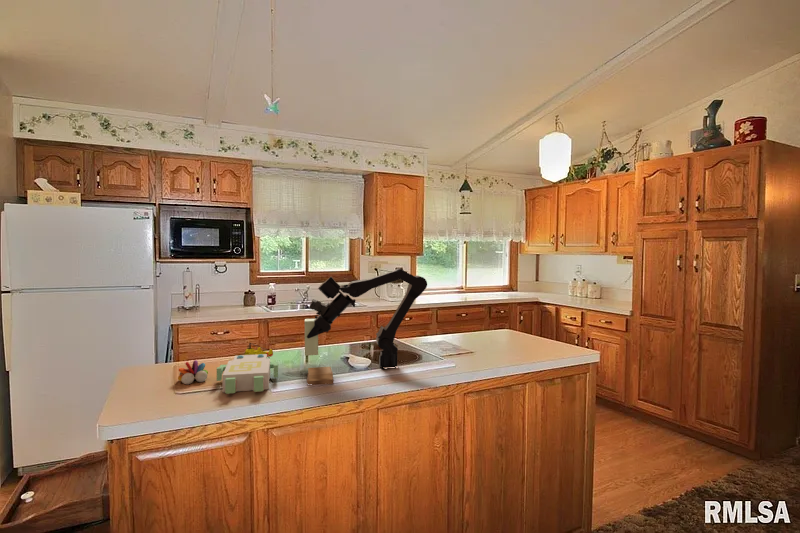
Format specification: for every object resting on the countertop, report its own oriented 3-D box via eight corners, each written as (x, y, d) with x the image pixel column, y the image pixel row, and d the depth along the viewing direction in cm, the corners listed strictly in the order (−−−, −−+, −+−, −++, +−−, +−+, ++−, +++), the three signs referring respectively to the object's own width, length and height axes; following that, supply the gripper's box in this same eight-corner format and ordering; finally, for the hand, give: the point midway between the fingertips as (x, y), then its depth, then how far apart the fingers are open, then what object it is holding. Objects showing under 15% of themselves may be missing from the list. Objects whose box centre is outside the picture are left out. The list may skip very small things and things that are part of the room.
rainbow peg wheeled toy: (176, 380, 153) (175, 360, 153) (205, 375, 159) (205, 356, 159) (180, 387, 147) (179, 365, 146) (210, 381, 152) (210, 361, 152)
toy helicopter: (274, 362, 176) (274, 338, 175) (240, 375, 159) (240, 348, 159) (262, 360, 178) (262, 336, 178) (228, 372, 162) (227, 346, 161)
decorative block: (222, 354, 160) (278, 351, 165) (222, 371, 161) (278, 368, 166) (210, 378, 136) (276, 374, 141) (210, 398, 136) (277, 393, 141)
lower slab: (332, 377, 160) (332, 371, 160) (333, 385, 151) (333, 379, 151) (307, 378, 158) (307, 373, 158) (307, 387, 149) (307, 381, 149)
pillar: (318, 351, 169) (317, 318, 168) (318, 354, 164) (318, 321, 164) (305, 352, 168) (304, 318, 167) (304, 355, 163) (304, 321, 163)
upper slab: (330, 372, 159) (330, 366, 159) (332, 379, 151) (332, 373, 151) (308, 373, 157) (308, 367, 157) (309, 381, 149) (309, 374, 149)
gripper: (322, 289, 175) (294, 317, 174) (321, 295, 156) (290, 326, 155) (341, 308, 176) (314, 336, 175) (343, 316, 158) (312, 347, 157)
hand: (307, 336), depth 166 cm, fingers closed on pillar, 5 cm apart
